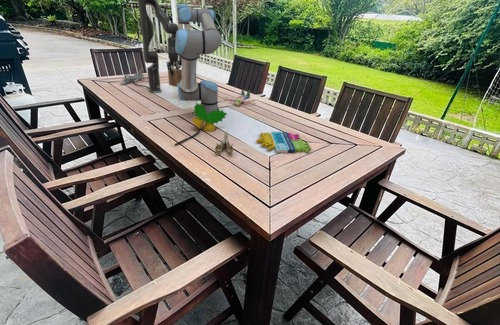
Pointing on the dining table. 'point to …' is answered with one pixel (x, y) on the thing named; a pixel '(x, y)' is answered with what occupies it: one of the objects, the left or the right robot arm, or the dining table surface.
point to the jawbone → (224, 145)
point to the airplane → (134, 77)
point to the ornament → (207, 117)
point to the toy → (241, 99)
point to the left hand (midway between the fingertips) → (174, 74)
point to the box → (175, 77)
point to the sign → (283, 142)
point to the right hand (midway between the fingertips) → (186, 64)
